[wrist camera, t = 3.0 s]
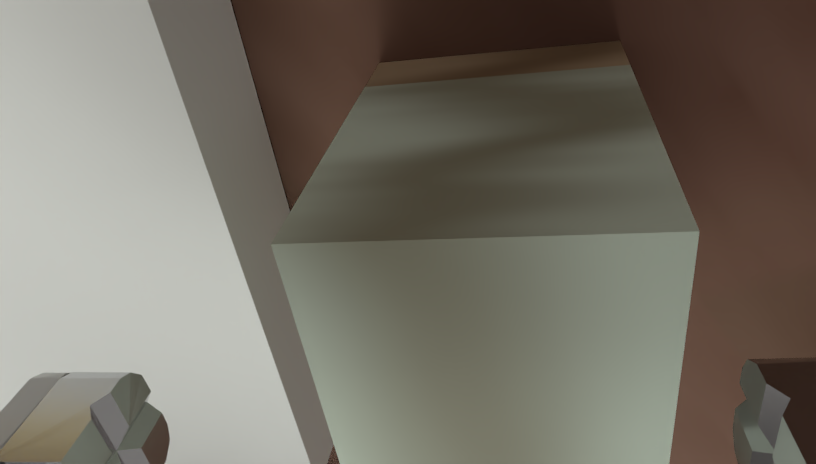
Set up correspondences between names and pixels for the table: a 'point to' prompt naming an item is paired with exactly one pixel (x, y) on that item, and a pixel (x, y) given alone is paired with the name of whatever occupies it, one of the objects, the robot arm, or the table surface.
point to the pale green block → (495, 265)
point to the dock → (149, 223)
